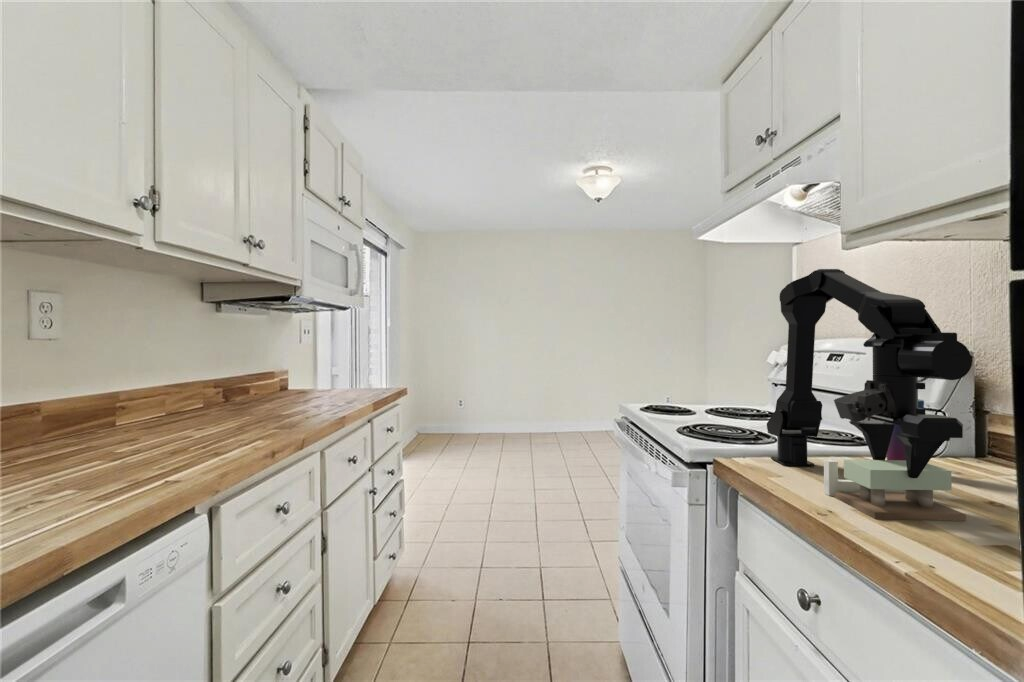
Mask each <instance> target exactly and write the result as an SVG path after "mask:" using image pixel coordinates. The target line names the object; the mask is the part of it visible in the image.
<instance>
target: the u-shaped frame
mask: <svg viewBox="0 0 1024 682" xmlns="http://www.w3.org/2000/svg"><path fill="white" fill-rule="evenodd" d="M835 492H860V484H858V483H856V482H853V481H851V480H849V479H839V462H838V461H836V460H834V459H823V494H825V495H827V496H829V497H835ZM885 493H905V490H895V489H885Z"/></svg>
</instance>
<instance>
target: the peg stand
mask: <svg viewBox="0 0 1024 682" xmlns="http://www.w3.org/2000/svg"><path fill="white" fill-rule="evenodd" d="M834 498H835V499H836V500H839V501H841V502H842V503H845V504H847V505H848V506H850V507H852V508H854V509H856V510H858V511H860V512H861V513H863V514H865V515H867V516H869V517H871V518H873V519H875V520H908V521H909V520H914V521H915V520H917V521H920V520H921V521H955V522H956V521H957V522H958V521H960V522H966V521H967V520H966V518H967V516H966V513H963V512H961V511H958V510H956V509H954V508H951V507H949V506H946V505H944V504H942V503H939V502H936V501H934V490H905V493H885V489H869V488H867V487H865V486H862V485H860V492H835V496H834ZM963 520H964V521H963ZM965 520H966V521H965Z"/></svg>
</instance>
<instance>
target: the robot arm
mask: <svg viewBox="0 0 1024 682" xmlns="http://www.w3.org/2000/svg"><path fill="white" fill-rule="evenodd" d="M778 298H779V302H780V313H781V314H782V316H783V317H784V319H785V321H786V322H787V324H788V329H787V330H788V332H787V333H788V334H787V336H788V337H787V352H786V353H787V355H786V376H785V389H784V390H783V392H782V393H781V394H780V396H779V397H778V398H777V399H776V404H775V411H774V412H773V413H772V415H771V416H770V418H769V420H768V421H767V422H766V429H767V433H768V434H769V435H773V436H775V437H777V439H776V440H777V447H776V448H777V456H774V455H773V456H770V459H771V460H773V461H775V462H777V463H778V464H781V465H783V466H793V467H794V466H795V467H796V466H798V467H800V466H803V467H810V466H811V467H814V466H815V465H816V464H815V462H812V461H809V460H808V437H813V438H817V437H818V435H819V434H818V433H819V430H820V426H821V423H822V421H823V416H822V414H823V413H822V411H823V410H822V409H823V403H822V401H820V400H818V399H817V397H816V396H815V394H814V393H813V377H814V375H813V374H814V373H813V372H814V357H815V341H816V340H815V339H816V325H817V324H818V322H819V321H820V319H821V318H822V317H823V316H824V314H825V313H826V308H827V303H829V302H830V301H832V300H834V299H835V300H837V301H838V302H840V303H842V304H843V305H845V306H846V307H848V308H850V309H851V310H853V311H855V312H856V313H857V318H858V319H857V320H858V322H859V323H860V324H862V325H863V326H864V327H865V328H866V329H867V330H868V331H869V332H870V333H872V335H871V337H869V338H868V339H867V340H865V341H864V343H863V347H864V348H872V379H871V380H869V379H866V381H865V382H864V388H863V389H864V390H859V391H856V392H851V393H850V394H846V395H844V396H840V397H837V398H835V399H833V402H834V405H835V408H836V409H837V410H836V411H837V413H838V416H839V418H840V419H842V420H844V419H846V420H849V424H850V425H852V426H854V428H857V429H858V430H859V431H860V432H861V433H862V435H863V437H864V440H865V442H866V445H867V448H868V450H869V453H870V456H871V458H872V460H886V459H887V451H888V448H889V444H890V440H891V437H892V433H893V429H894V426H895V424H897V425H900V427H901V429H902V431H903V432H904V433H905V434H896V436H897V437H898V438H899V439H900V440H901V441H902V442H903V443H904V445H905V454H906V464H907V471H908V476H909V477H910V478H918V477H919V475H920V474H921V472H922V471H923V469H924V468H925V466H926V465H927V464H929V462H930V461H931V459H932V458H933V456H934V454H936V452H937V451H938V450H939V448H941V446H942V445H943V444H944V443H945V442H949V441H951V439H963V438H964V424H963V423H962V422H961V421H960V420H959V419H958V418H957V417H951V416H946V415H941V414H926V408H924V409H922V408H918V399H919V390H926V382H919V378H920V379H921V378H922V379H923V378H924V379H933V380H944V381H945V380H946V381H956V380H959V379H960V380H961V379H962V378H964V377H965V376H967V374H968V373H969V372H970V370H971V368H972V366H973V355H971V352H970V351H969V349H968V347H967V346H966V345H965V344H964V343H962V342H961V341H959V340H958V333H957V332H942V330H941V329H940V327H939V326H938V324H936V322H935V320H934V319H933V318H932V317H931V314H929V312H928V310H927V309H926V304H925V303H924V302H923V301H921V300H920V299H918V298H914V297H911V296H906V295H902V294H895V293H887V292H884V291H880V290H878V289H876V288H874V287H873V286H870V285H868V284H866V283H864V282H862V281H861V280H859V279H857V278H855V277H852V276H850V275H849V274H847V273H846V272H845V271H844V270H841V269H839V268H818V269H816V270H813V271H812V272H811V273H810V274H807V275H806V276H802V277H800V278H797V279H796V280H795V279H794V280H792V281H791V282H789V283H787V284H786V285H785V286H784V287H783V288H782V289H781V291H780V293H779V297H778ZM900 419H901V420H900ZM887 422H888V423H887ZM891 423H893V424H891Z"/></svg>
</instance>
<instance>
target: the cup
mask: <svg viewBox="0 0 1024 682" xmlns="http://www.w3.org/2000/svg"><path fill="white" fill-rule="evenodd" d="M918 408H922V409H925V400H924V399H920V398H918ZM900 420H901V419H900ZM887 423H888V422H887ZM891 424H893V423H891ZM896 434H905V433H904V432H903V431H902V429H901V427H900V425H897V424H895V426H894V429H893V433H892V437H891V440H890V444H889V448H888V451H887V455H886V459H887V460H906V454H905V445H904V443H903V442H902V441H901V440H900V439H899V438H898V437H897V436H896Z"/></svg>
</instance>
